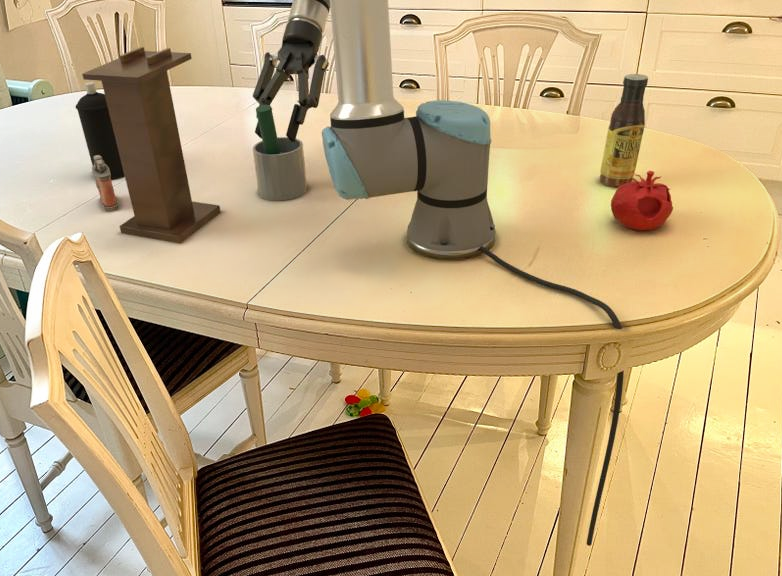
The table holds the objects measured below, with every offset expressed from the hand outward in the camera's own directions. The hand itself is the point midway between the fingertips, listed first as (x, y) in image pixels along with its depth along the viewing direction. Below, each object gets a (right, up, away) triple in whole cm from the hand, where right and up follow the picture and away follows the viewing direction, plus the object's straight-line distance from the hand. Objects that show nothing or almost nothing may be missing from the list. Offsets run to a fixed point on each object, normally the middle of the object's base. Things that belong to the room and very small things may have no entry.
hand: (274, 136), depth 146 cm
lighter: (-35, -12, +9) cm, 38 cm away
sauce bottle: (+67, -10, -2) cm, 67 cm away
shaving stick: (+1, -1, +2) cm, 2 cm away
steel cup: (+1, -9, +7) cm, 12 cm away
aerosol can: (-38, -2, +23) cm, 45 cm away
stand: (-20, -17, -1) cm, 27 cm away
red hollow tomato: (+65, -20, -16) cm, 70 cm away
